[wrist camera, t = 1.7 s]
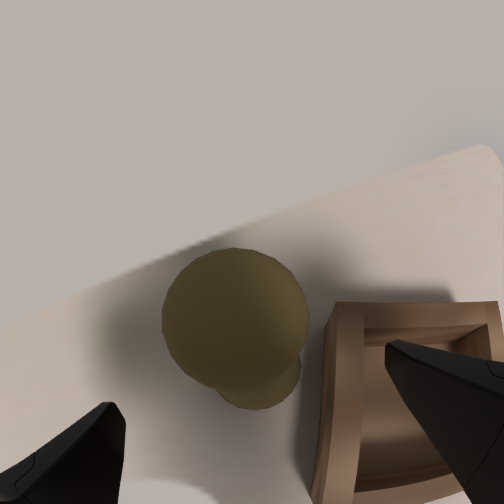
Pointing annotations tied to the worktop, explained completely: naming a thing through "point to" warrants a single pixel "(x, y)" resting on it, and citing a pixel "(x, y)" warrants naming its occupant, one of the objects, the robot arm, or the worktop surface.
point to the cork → (238, 326)
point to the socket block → (388, 400)
